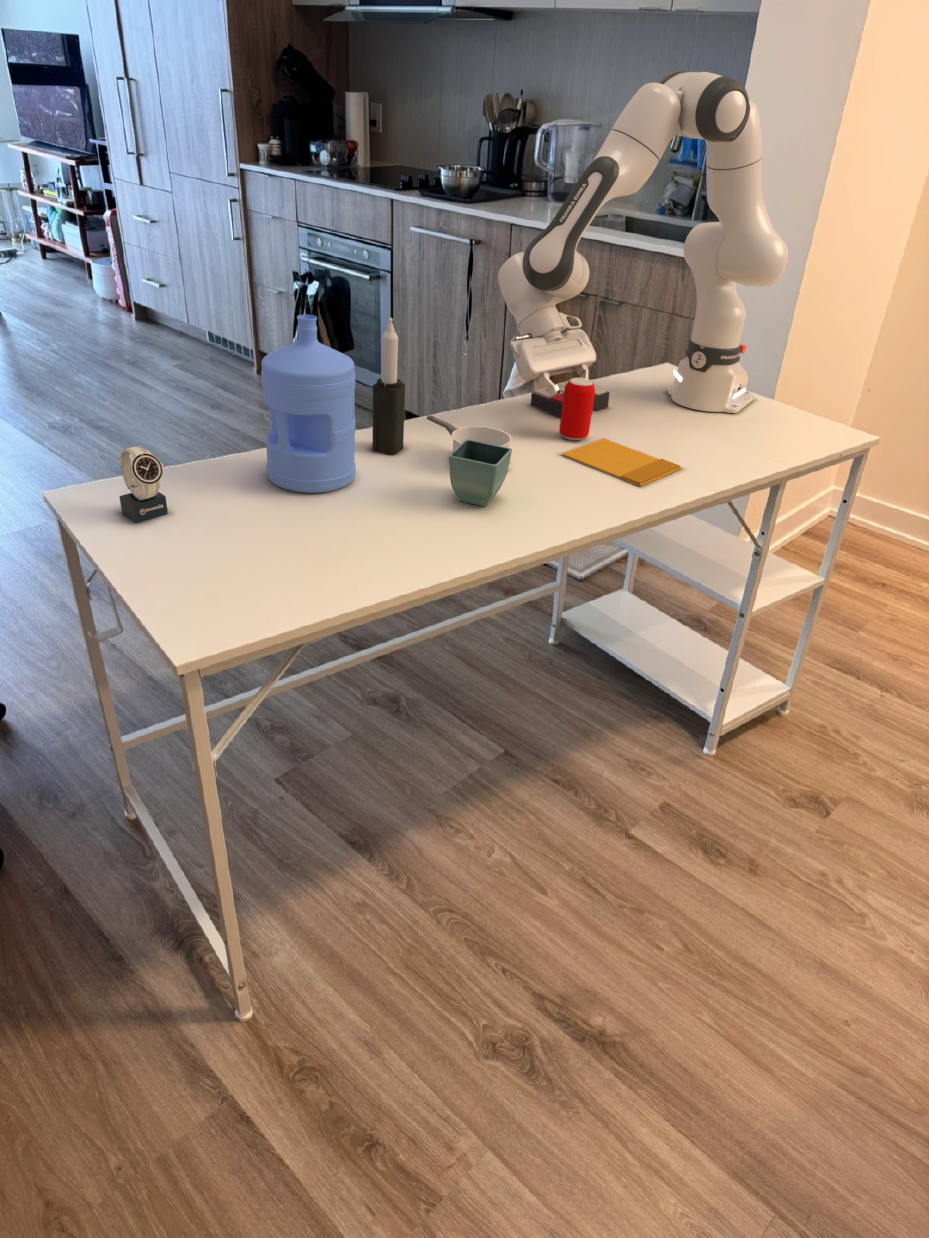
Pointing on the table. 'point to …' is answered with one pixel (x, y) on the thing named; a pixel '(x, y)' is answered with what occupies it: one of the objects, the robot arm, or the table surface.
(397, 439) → the candle
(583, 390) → the beverage can
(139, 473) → the watch
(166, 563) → the table surface
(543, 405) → the calculator
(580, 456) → the cloth
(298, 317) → the water jug
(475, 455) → the flower pot
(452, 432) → the saucepan
